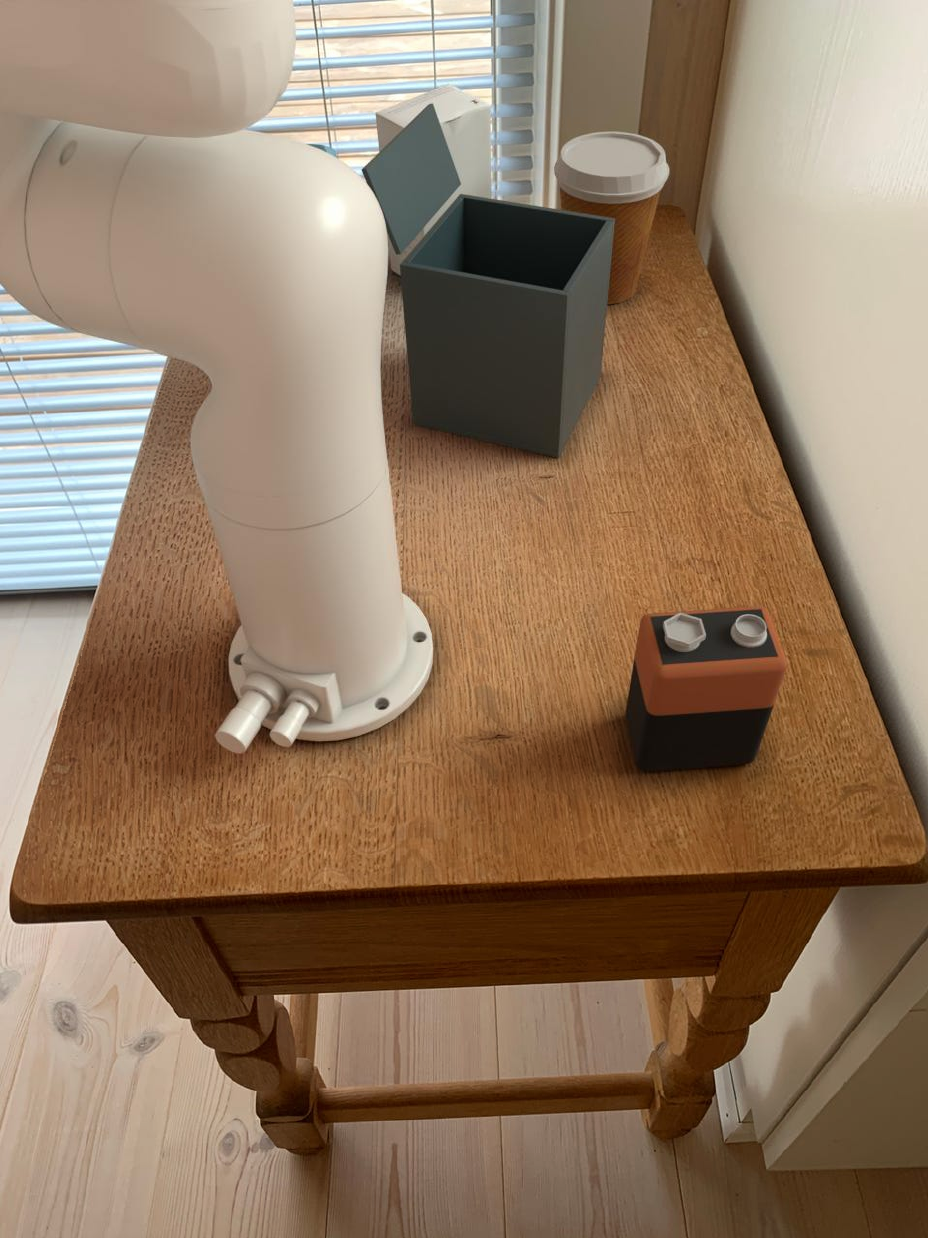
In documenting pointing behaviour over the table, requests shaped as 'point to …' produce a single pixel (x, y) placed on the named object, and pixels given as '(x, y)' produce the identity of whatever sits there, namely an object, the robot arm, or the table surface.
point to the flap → (412, 177)
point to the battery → (703, 687)
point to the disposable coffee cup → (615, 195)
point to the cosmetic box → (465, 139)
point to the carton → (506, 321)
